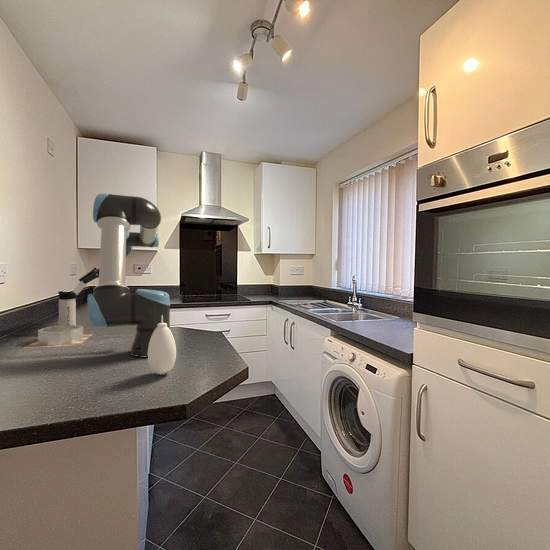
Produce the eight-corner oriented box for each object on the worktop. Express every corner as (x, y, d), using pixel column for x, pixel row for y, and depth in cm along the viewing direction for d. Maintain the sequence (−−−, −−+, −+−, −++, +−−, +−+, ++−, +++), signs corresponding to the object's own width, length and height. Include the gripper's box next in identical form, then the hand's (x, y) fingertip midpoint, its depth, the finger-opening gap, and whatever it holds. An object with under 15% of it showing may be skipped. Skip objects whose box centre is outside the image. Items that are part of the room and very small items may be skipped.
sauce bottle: (159, 381, 83) (159, 317, 82) (142, 375, 87) (142, 315, 86) (181, 373, 89) (181, 314, 89) (164, 368, 93) (164, 311, 93)
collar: (75, 344, 115) (75, 331, 115) (31, 346, 111) (31, 333, 111) (87, 335, 129) (87, 324, 129) (48, 337, 125) (48, 325, 125)
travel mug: (63, 333, 136) (63, 290, 136) (78, 333, 137) (78, 290, 136) (54, 337, 130) (54, 292, 129) (70, 337, 131) (70, 292, 130)
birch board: (78, 348, 114) (78, 344, 114) (23, 351, 109) (23, 348, 109) (93, 337, 131) (93, 334, 131) (45, 339, 126) (45, 336, 126)
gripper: (134, 268, 154) (109, 299, 140) (98, 267, 162) (71, 297, 148) (126, 257, 149) (100, 289, 135) (89, 257, 157) (61, 287, 143)
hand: (85, 293), depth 142 cm, fingers open, 13 cm apart
